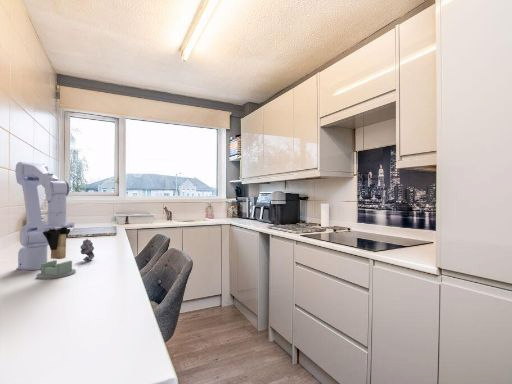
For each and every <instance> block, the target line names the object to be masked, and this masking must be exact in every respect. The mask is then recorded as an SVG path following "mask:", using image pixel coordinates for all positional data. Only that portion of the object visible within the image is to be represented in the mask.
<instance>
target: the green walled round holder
mask: <svg viewBox="0 0 512 384" xmlns="http://www.w3.org/2000/svg"><path fill="white" fill-rule="evenodd" d="M57 260H58V259H52V260H50V261H47V262H45V263H42V264H41V269H40V273H37V274H36V279H38V280H51V279H52V280H53V279H60V278H64V277H69V276H71V275H72V276H73V275H74V274H76V269H74V268H73V260H67V261H64V262H60V263H58V261H57Z"/></svg>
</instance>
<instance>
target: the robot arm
mask: <svg viewBox="0 0 512 384" xmlns="http://www.w3.org/2000/svg"><path fill="white" fill-rule="evenodd" d="M14 174H15V177H16V178H15V179H16V183H17V184H19V185H20V186H21V188H22V191H23V198H24V200H23V201H24V206H25V214H26V221H27V223H26V224H24V225H23V226H22V227H21V228H20V230H19V243H20V245H21V248H19V250H18V252H17V253H18V254H17V260H18V261H17V267H15V269H16V270H27V271H28V270H29V271H30V270H31V271H37V270H41V264H42V263H45V262H48V246H49V249H50V251H51V250H57V245H58V237H59V234H66V239H67V238H68V236H69V234H70V233H71V229H73V228H75V222H67V197H68V195H69V193H70V184H69V182H68V181H67V180H63V181H62V180H60V179H59V178H58V177H57V176H56V175H55V174H54V172H49V167H48V165H47V164H46V163H35V162H25V161H24V162H22V161H18V162H17V163H16V165H15V173H14ZM40 185H41V186H42V187H43V188H44V193H45V197H46V198H45V199H46V201H47V222H46V221H43V217H42V211H41V204H40V197H39V192H38V186H40Z"/></svg>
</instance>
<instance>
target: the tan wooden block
mask: <svg viewBox="0 0 512 384" xmlns="http://www.w3.org/2000/svg"><path fill="white" fill-rule="evenodd" d="M66 247H67V238H66V234H59V237H58V245H57V250H50V260H63V259H66V255H67V254H66V253H67V250H66V249H67V248H66Z"/></svg>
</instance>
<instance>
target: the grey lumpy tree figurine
mask: <svg viewBox="0 0 512 384" xmlns="http://www.w3.org/2000/svg"><path fill="white" fill-rule="evenodd" d="M79 248H80V254H81V255H86V256H85V257H84V258H83V259H82V260H83V261H85V262H88V261H92V260H93V259H94V258H95V253H94V252H93V251H94V250H95V247H94V246H93V242H92V240H91V239H88V238H86V239H84V240H83V241H82V245H81V244H80V247H79Z"/></svg>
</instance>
